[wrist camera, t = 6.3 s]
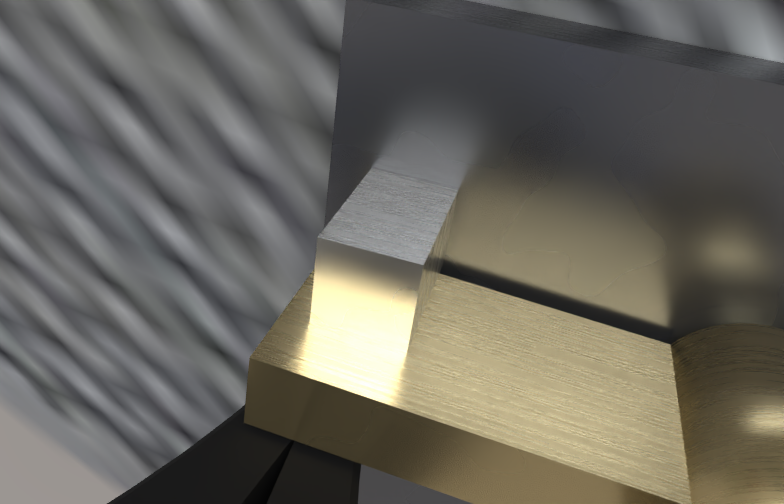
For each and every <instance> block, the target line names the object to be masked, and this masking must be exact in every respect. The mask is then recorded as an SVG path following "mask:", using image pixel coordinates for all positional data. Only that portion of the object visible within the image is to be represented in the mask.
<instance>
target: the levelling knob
mask: <svg viewBox="0 0 784 504" xmlns="http://www.w3.org/2000/svg"><path fill="white" fill-rule="evenodd" d="M314 271H315V269H314V270H313V271H312V273H311V274H310V275H309V277H308V278H307V280H306V281H305V282H304V284H303V285H302V286H301V288H300V289H299V291H298V292H297V293H296V295H295V296H294V297H293V299H292V300H291V302H290V303H289V304H288V306H287V307H286V308H285V310H284V311H283V313H282V314H281V315H280V317H279V318H278V319H277V321H276V322H275V324H274V325H273V326H272V328H271V329H270V330H269V332H268V333H267V335H266V336H265V337H264V339H263V340H262V341H261V343H260V344H259V346H258V347H257V348H256V350H255V351H254V352H253V354H252V355H251V357H250V360H249V371H248V382H247V392H246V403H245V414H244V423H246V424H249V425H252V426H255V427H257V428H260V429H263V430H266V431H269V432H272V433H274V434H277V435H280V436H283V437H286V438H289V439H291V440H294V441H297V442H300V443H303V444H306V445H308V446H311V447H314V448H317V449H320V450H323V451H325V452H328V453H331V454H334V455H337V456H340V457H342V458H345V459H348V460H351V461H354V462H357V463H359V464H362V465H365V466H368V467H371V468H373V469H376V470H379V471H382V472H385V473H388V474H390V475H393V476H396V477H399V478H402V479H405V480H407V481H410V482H413V483H416V484H419V485H422V486H424V487H427V488H430V489H433V490H436V491H439V492H441V493H444V494H447V495H450V496H453V497H456V498H458V499H461V500H464V501H467V502H470V503H473V504H784V330H783V329H780V328H776V327H771V326H767V325H759V324H746V323H737V324H724V325H718V326H712V327H709V328H705V329H701V330H698V331H696V332H693V333H690V334H688V335H686V336H684V337H682V338H680V339H678V340H677V341H675V342H674V343H672V344H671V345H670V344H667V343H664V342H660V341H657V340H654V339H651V338H647V337H644V336H641V335H638V334H634V333H631V332H628V331H625V330H621V329H618V328H615V327H612V326H608V325H605V324H602V323H599V322H595V321H592V320H589V319H586V318H582V317H579V316H576V315H573V314H569V313H566V312H563V311H560V310H557V309H553V308H550V307H547V306H544V305H540V304H537V303H534V302H531V301H527V300H524V299H521V298H518V297H514V296H511V295H508V294H505V293H501V292H498V291H495V290H492V289H488V288H485V287H482V286H479V285H475V284H472V283H469V282H466V281H462V280H459V279H456V278H453V277H449V276H446V275H443V274H440V273H439V276H438V278H437V280H436V283H435V285H434V288H433V290H432V293H431V295H430V297H429V300H428V302H427V305H426V307H425V310H424V312H423V314H422V317H421V319H420V322H419V324H418V327H417V329H416V331H415V334H414V336H413V339H412V341H411V344H410V346H409V348H408V351H407V352H406V351H403V350H400V349H397V348H394V347H391V346H387V345H384V344H381V343H378V342H375V341H372V340H369V339H366V338H363V337H360V336H357V335H354V334H351V333H348V332H345V331H342V330H338V329H335V328H332V327H329V326H326V325H323V324H320V323H317V322H314V321H311V320H310V315H311V304H312V293H313V282H314Z"/></svg>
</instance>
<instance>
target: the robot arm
mask: <svg viewBox="0 0 784 504" xmlns="http://www.w3.org/2000/svg"><path fill="white" fill-rule="evenodd" d="M244 414H245V405H244V406H243V407H242V408H241V409H239V410H238V411H237V412H236V413H235V414H233V415H232V416H231V417H230V418H228V419H227V420H226V421H224V422H223V423H222V424H220V425H219V426H218V427H216V428H215V429H214V430H213V431H211V432H210V433H209V434H207V435H206V436H205V437H203V438H202V439H201V440H199V441H198V442H197V443H196V444H194V445H193V446H192V447H190V448H189V449H187V450H186V451H185V452H183V453H182V454H181V455H179V456H178V457H176V458H175V459H173V460H172V461H170V462H169V463H167V464H166V465H164V466H163V467H162V468H160V469H159V470H157V471H156V472H154V473H153V474H151V475H150V476H148V477H147V478H145V479H144V480H143V481H141V482H140V483H138V484H137V485H135V486H134V487H132V488H131V489H129V490H128V491H126V492H125V493H123V494H122V495H120V496H118V497H117V498H115V499H114V500H112V501H111V502H109V503H107V504H358V495H359V481H360V472H361V464H359V463H357V462H354V461H351V460H348V459H345V458H342V457H340V456H337V455H334V454H331V453H328V452H325V451H323V450H320V449H317V448H314V447H311V446H308V445H306V444H303V443H300V442H297V441H294V440H291V439H289V438H286V437H283V436H280V435H277V434H274V433H272V432H269V431H266V430H263V429H260V428H257V427H255V426H252V425H249V424H246V423H244Z"/></svg>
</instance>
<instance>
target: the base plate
mask: <svg viewBox="0 0 784 504" xmlns="http://www.w3.org/2000/svg"><path fill="white" fill-rule="evenodd" d="M439 273H440V274H443V275H446V276H449V277H453V278H456V279H459V280H462V281H466V282H469V283H472V284H475V285H479V286H482V287H485V288H488V289H492V290H495V291H498V292H501V293H505V294H508V295H511V296H514V297H518V298H521V299H524V300H527V301H531V302H534V303H537V304H540V305H544V306H547V307H550V308H553V309H557V310H560V311H563V312H566V313H569V314H573V315H576V316H579V317H582V318H586V319H589V320H592V321H595V322H599V323H602V324H605V325H608V326H612V327H615V328H618V329H621V330H625V331H628V332H631V333H634V334H638V335H641V336H644V337H647V338H651V339H654V340H657V341H660V342H664V343H667V344H670V345H671V344H672V343H674V342H675V341H677V340H678V339H680V338H682V337H684V336H686V335H688V334H690V333H693V332H696V331H698V330H701V329H705V328H709V327H712V326H718V325H724V324H737V323H746V324H759V325H767V326H771V327H776V328H780V329H783V330H784V63H779V62H774V61H769V60H764V59H759V58H754V57H749V56H744V55H739V54H734V53H728V52H723V51H718V50H713V49H708V48H703V47H698V46H693V45H688V44H683V43H678V42H673V41H668V40H663V39H658V38H652V37H647V36H642V35H637V34H632V33H627V32H622V31H617V30H612V29H607V28H602V27H597V26H592V25H587V24H582V23H576V22H571V21H566V20H561V19H556V18H551V17H546V16H541V15H536V14H531V13H526V12H521V11H516V10H511V9H506V8H500V7H495V6H490V5H485V4H480V3H475V2H470V1H465V0H346V7H345V17H344V27H343V38H342V48H341V59H340V69H339V80H338V90H337V101H336V111H335V122H334V132H333V142H332V153H331V163H330V174H329V184H328V195H327V205H326V216H325V226H324V230H323V231H322V232H321V233H320V235H319V236H318V238H317V249H316V260H315V271H314V282H313V293H312V304H311V315H310V320H311V321H314V322H317V323H320V324H323V325H326V326H329V327H332V328H335V329H338V330H342V331H345V332H348V333H351V334H354V335H357V336H360V337H363V338H366V339H369V340H372V341H375V342H378V343H381V344H384V345H387V346H391V347H394V348H397V349H400V350H403V351H406V352H407V351H408V348H409V346H410V344H411V341H412V339H413V336H414V334H415V331H416V329H417V327H418V324H419V322H420V319H421V317H422V314H423V312H424V310H425V307H426V305H427V302H428V300H429V297H430V295H431V293H432V290H433V288H434V285H435V283H436V280H437V278H438V276H439ZM358 504H473V503H470V502H467V501H464V500H461V499H458V498H456V497H453V496H450V495H447V494H444V493H441V492H439V491H436V490H433V489H430V488H427V487H424V486H422V485H419V484H416V483H413V482H410V481H407V480H405V479H402V478H399V477H396V476H393V475H390V474H388V473H385V472H382V471H379V470H376V469H373V468H371V467H368V466H365V465H362V464H361V472H360V481H359V495H358Z"/></svg>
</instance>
